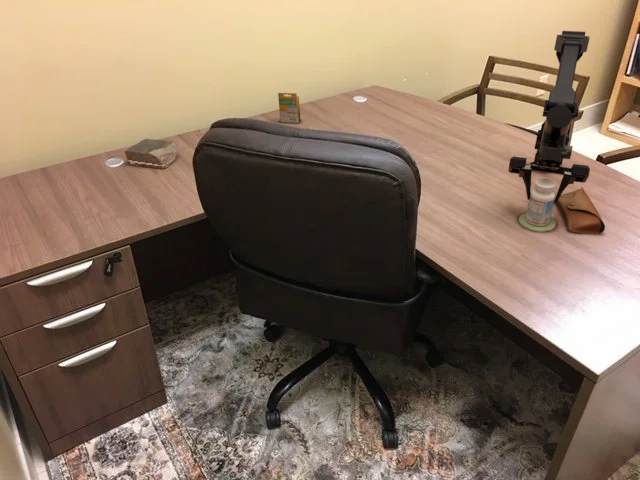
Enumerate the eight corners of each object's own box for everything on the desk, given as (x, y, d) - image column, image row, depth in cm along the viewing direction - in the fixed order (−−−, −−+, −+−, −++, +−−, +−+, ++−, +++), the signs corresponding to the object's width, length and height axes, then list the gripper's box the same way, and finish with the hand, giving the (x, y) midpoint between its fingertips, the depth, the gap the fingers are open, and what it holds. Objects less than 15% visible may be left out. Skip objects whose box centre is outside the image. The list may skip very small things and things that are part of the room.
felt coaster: (539, 210, 144) (540, 209, 144) (563, 227, 137) (563, 225, 137) (511, 217, 142) (511, 216, 142) (533, 235, 135) (533, 233, 135)
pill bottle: (544, 213, 142) (552, 176, 136) (553, 226, 137) (562, 188, 131) (521, 215, 142) (529, 177, 136) (529, 227, 137) (538, 189, 131)
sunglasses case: (550, 196, 149) (567, 177, 145) (570, 207, 151) (587, 189, 147) (569, 232, 134) (589, 212, 131) (591, 244, 136) (611, 225, 132)
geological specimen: (141, 137, 185) (178, 139, 180) (146, 154, 188) (182, 156, 184) (122, 150, 177) (160, 152, 172) (127, 166, 180) (165, 169, 175)
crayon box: (300, 120, 205) (298, 90, 198) (298, 123, 202) (296, 93, 196) (282, 119, 206) (279, 90, 200) (280, 122, 204) (277, 92, 197)
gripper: (515, 127, 132) (503, 186, 130) (598, 135, 126) (587, 198, 124) (514, 143, 143) (503, 199, 141) (590, 152, 136) (580, 210, 134)
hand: (541, 201), depth 135 cm, fingers closed on pill bottle, 6 cm apart
